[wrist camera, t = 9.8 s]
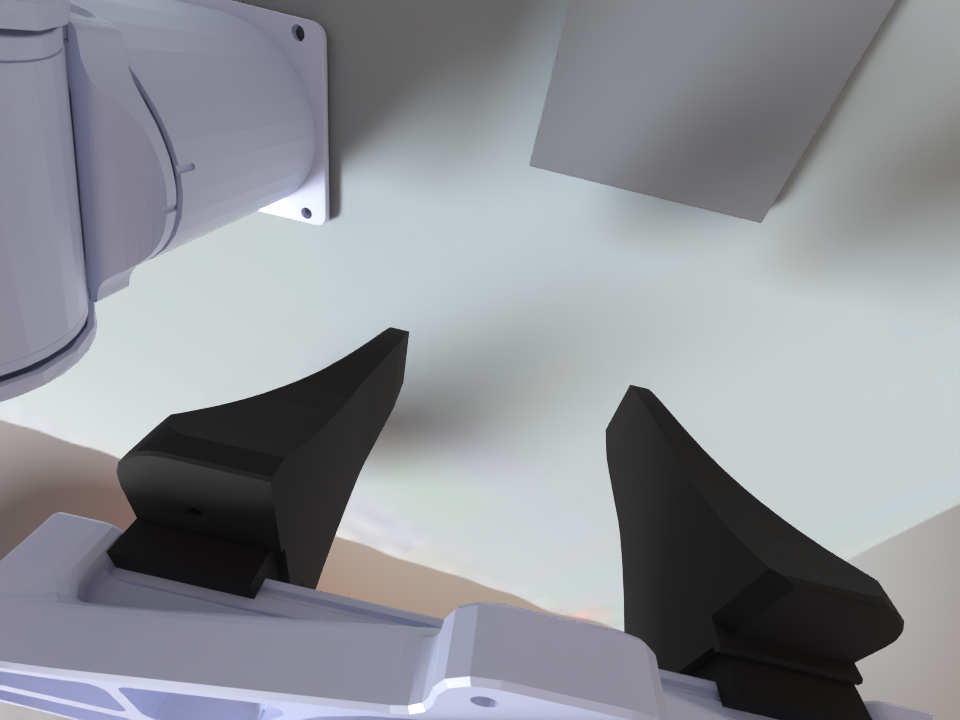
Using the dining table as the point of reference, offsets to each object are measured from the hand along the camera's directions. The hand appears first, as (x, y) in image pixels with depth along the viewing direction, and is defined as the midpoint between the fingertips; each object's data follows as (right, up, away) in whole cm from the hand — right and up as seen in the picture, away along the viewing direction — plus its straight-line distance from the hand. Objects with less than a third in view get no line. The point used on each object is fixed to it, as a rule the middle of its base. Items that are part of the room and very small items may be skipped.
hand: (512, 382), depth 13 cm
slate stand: (+7, +12, +2) cm, 14 cm away
